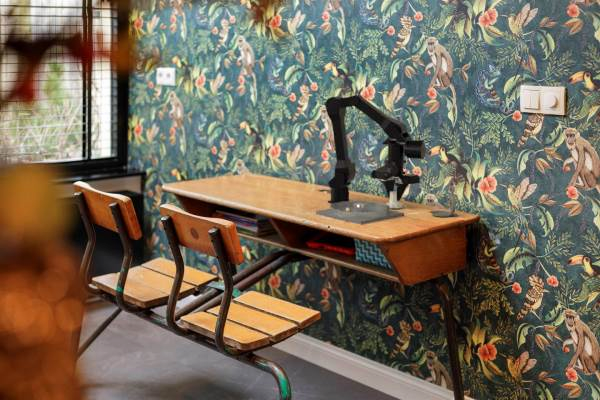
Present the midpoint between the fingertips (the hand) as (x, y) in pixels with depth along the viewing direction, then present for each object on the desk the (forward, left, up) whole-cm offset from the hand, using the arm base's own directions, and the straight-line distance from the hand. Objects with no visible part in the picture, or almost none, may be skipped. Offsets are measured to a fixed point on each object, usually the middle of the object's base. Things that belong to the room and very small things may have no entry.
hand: (394, 200), depth 289 cm
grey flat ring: (0, -18, -3) cm, 18 cm away
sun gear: (0, -18, -3) cm, 18 cm away
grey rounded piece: (+20, +4, -3) cm, 21 cm away
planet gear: (0, 0, -2) cm, 2 cm away
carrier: (0, -18, -3) cm, 18 cm away
